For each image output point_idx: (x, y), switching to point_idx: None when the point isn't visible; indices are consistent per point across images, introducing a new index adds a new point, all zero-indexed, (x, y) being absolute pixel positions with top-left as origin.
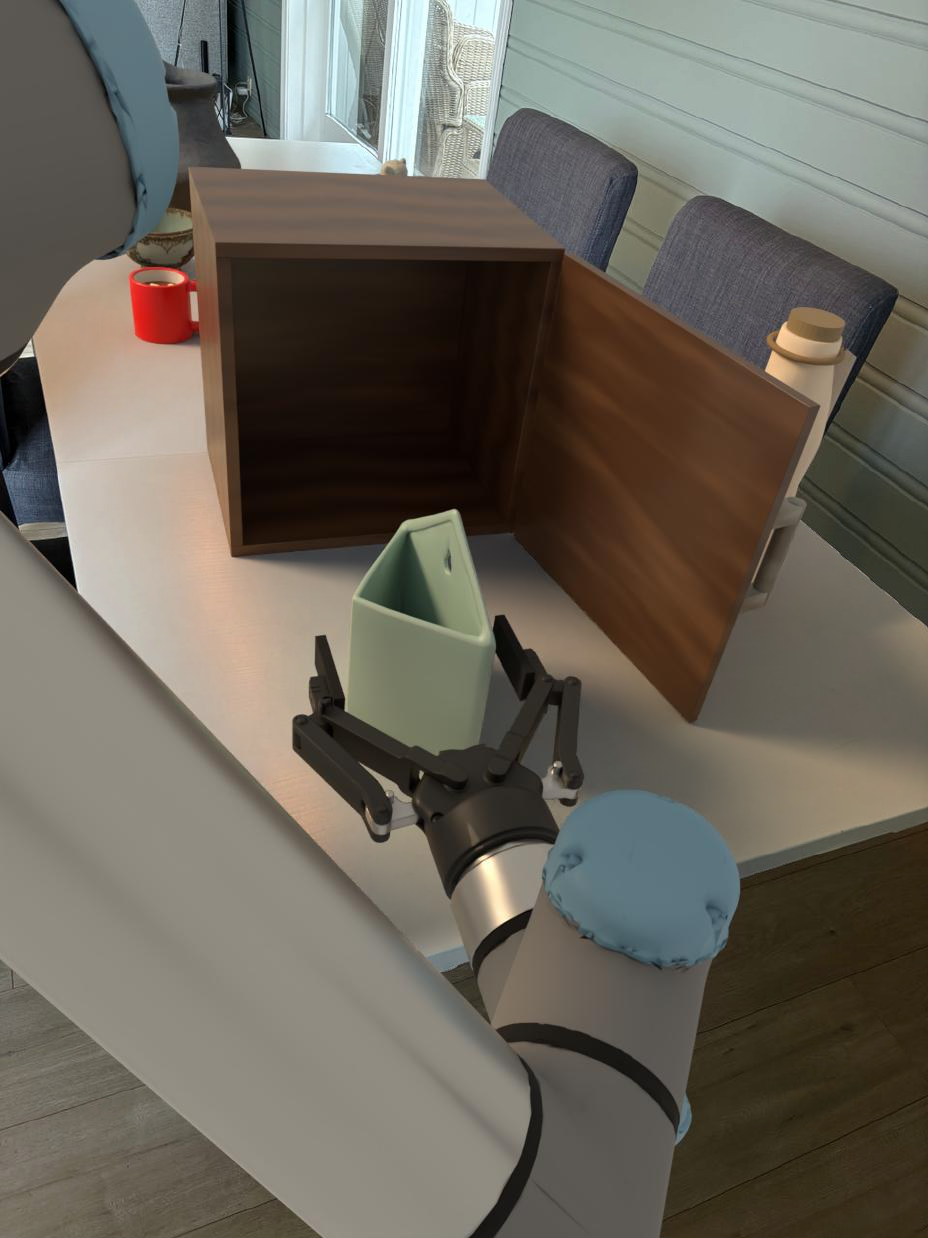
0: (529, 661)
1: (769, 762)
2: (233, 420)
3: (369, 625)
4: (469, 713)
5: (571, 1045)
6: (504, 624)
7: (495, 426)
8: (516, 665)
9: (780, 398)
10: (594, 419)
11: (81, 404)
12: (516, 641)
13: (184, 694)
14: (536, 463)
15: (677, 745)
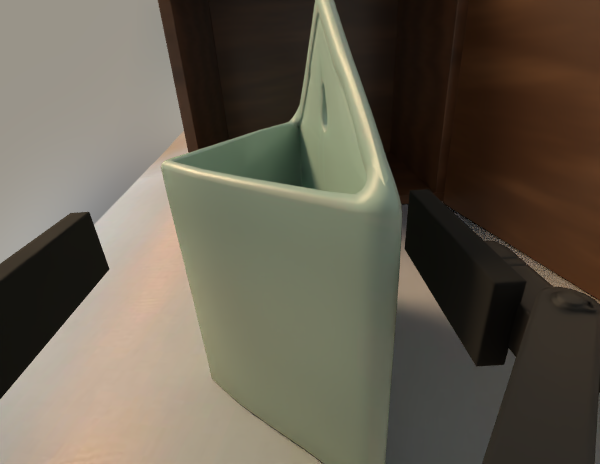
0: (499, 256)
1: None
2: (183, 89)
3: (186, 208)
4: (358, 382)
5: None
6: (428, 200)
7: (422, 116)
8: (461, 271)
9: None
10: (537, 22)
11: (172, 156)
12: (457, 222)
13: (70, 322)
14: (463, 121)
15: None
